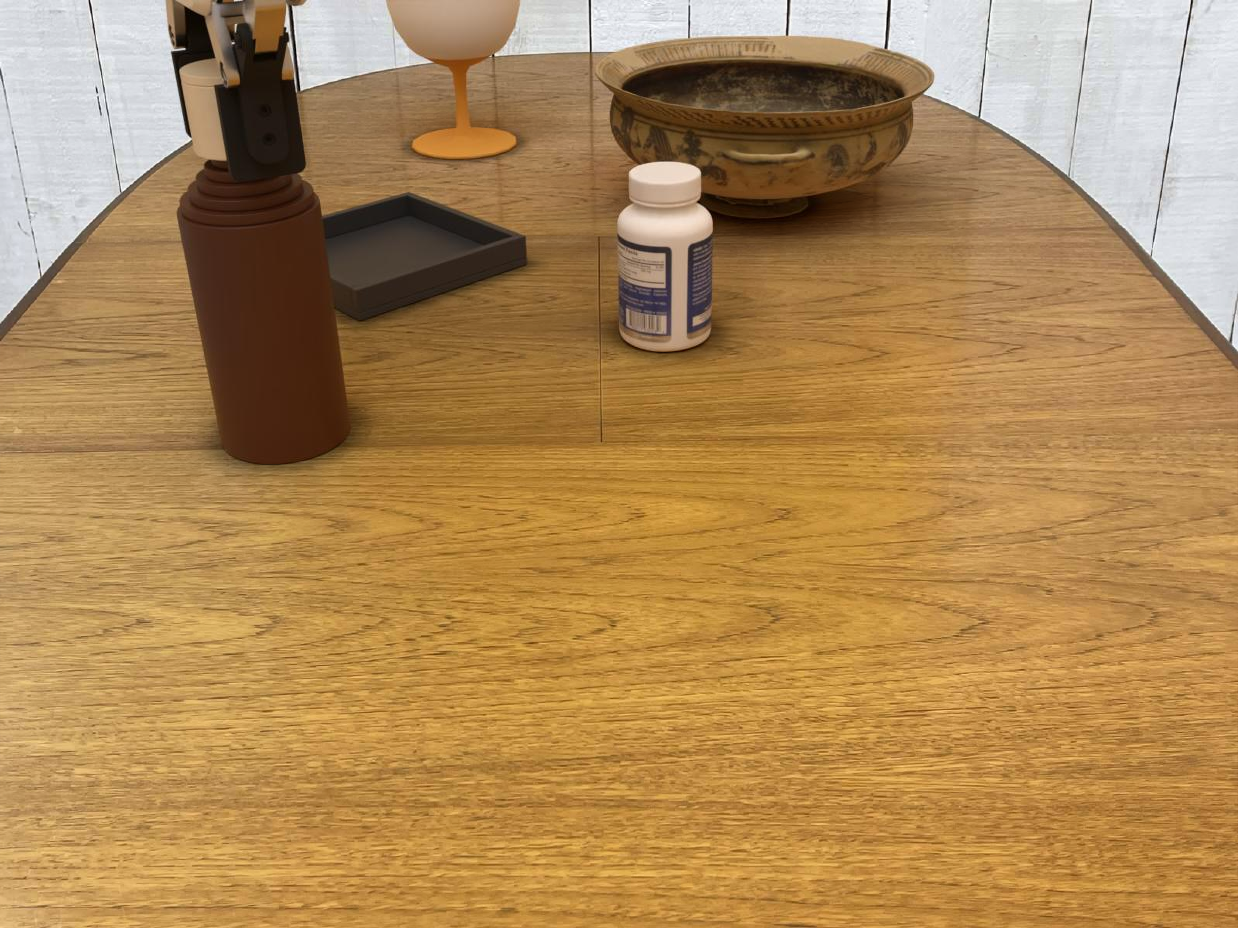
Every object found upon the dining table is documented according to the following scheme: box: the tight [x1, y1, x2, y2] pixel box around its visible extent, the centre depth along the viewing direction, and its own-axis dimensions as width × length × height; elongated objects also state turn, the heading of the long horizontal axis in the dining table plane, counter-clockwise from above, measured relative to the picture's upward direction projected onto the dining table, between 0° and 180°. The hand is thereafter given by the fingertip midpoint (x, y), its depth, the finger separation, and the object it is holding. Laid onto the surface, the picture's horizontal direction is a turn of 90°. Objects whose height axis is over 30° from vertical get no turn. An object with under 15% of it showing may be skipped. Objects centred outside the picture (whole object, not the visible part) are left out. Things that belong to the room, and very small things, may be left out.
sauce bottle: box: [176, 159, 351, 465], centre depth 59 cm, size 6×6×18 cm
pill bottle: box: [616, 162, 714, 353], centre depth 71 cm, size 5×5×10 cm
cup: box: [385, 0, 521, 160], centre depth 104 cm, size 12×12×17 cm
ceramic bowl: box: [594, 35, 935, 219], centre depth 92 cm, size 30×24×10 cm
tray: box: [322, 191, 528, 322], centre depth 83 cm, size 13×13×2 cm
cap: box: [179, 58, 227, 161], centre depth 55 cm, size 4×4×4 cm
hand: (244, 151), depth 56 cm, fingers open, 6 cm apart
